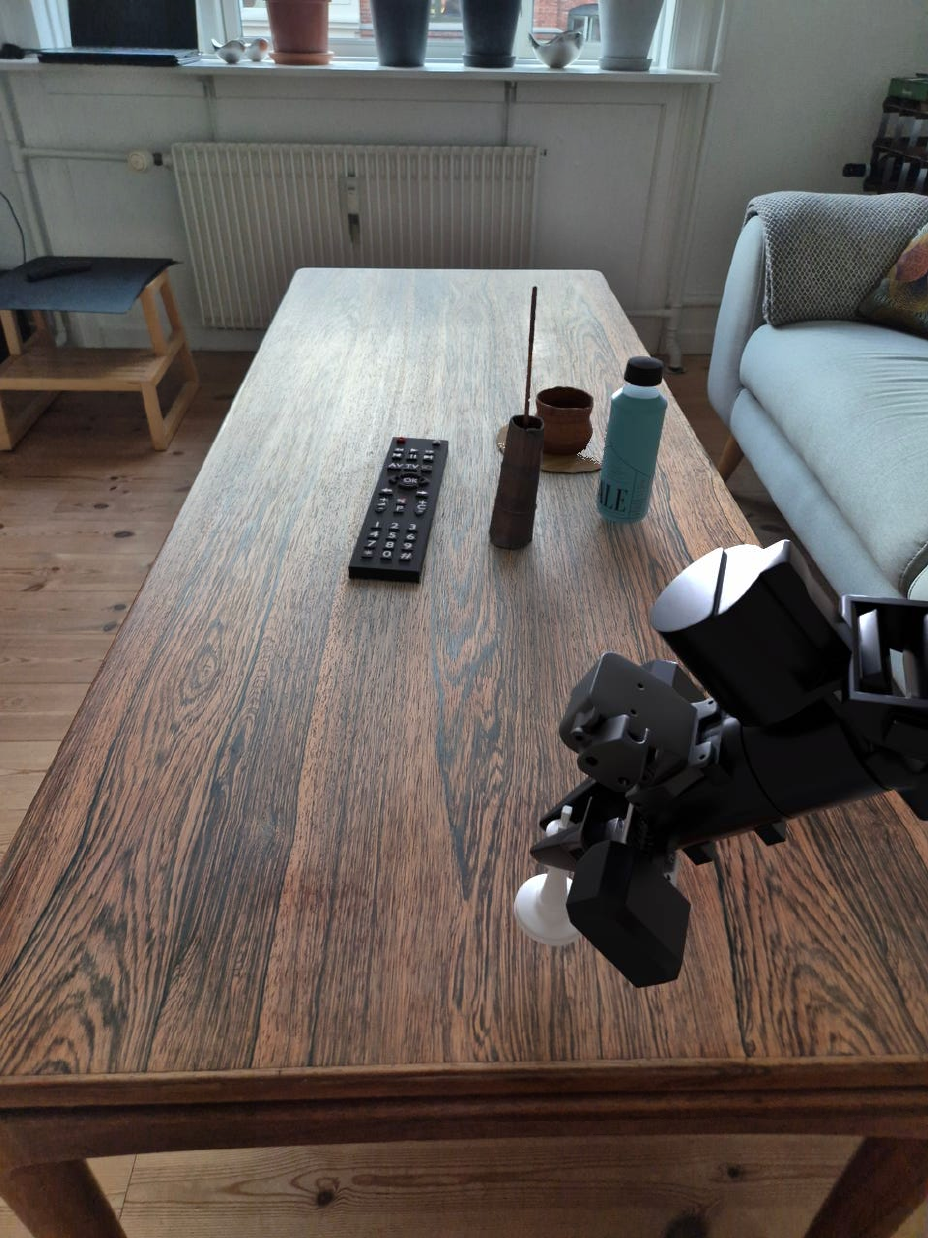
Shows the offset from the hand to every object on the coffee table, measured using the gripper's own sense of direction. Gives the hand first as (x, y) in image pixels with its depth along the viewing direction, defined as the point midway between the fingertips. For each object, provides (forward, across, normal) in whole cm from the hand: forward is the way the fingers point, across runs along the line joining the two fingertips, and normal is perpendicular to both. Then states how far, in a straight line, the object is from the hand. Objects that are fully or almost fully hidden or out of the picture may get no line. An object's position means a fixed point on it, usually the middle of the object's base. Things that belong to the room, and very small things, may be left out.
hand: (538, 841), depth 50 cm
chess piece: (+4, 0, +6) cm, 7 cm away
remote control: (+29, -51, -13) cm, 60 cm away
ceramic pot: (+19, -76, -4) cm, 78 cm away
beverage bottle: (+11, -58, +5) cm, 59 cm away
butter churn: (+18, -48, -3) cm, 52 cm away
